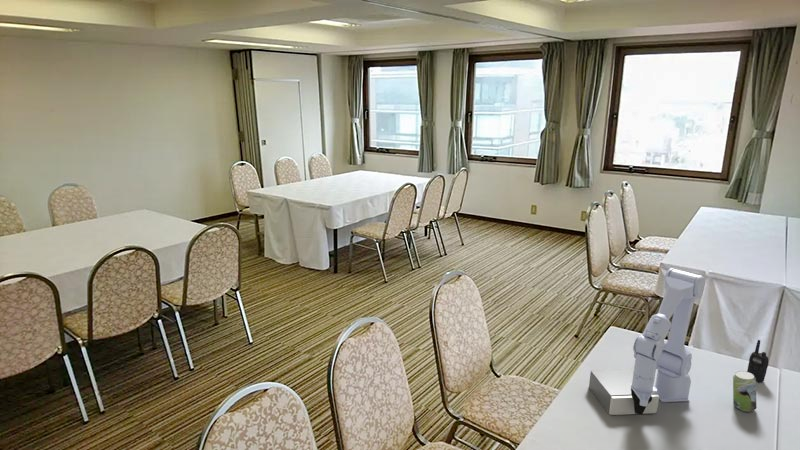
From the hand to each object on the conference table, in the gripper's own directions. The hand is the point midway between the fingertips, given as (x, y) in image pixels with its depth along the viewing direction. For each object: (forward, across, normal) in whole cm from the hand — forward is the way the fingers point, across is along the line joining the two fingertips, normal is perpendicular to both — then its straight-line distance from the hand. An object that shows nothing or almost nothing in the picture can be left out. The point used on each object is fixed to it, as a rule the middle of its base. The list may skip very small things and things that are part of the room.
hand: (638, 412), depth 147 cm
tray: (+2, +8, +4) cm, 9 cm away
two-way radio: (+3, +39, -41) cm, 57 cm away
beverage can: (+3, +19, -32) cm, 37 cm away
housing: (+2, +10, +4) cm, 11 cm away
